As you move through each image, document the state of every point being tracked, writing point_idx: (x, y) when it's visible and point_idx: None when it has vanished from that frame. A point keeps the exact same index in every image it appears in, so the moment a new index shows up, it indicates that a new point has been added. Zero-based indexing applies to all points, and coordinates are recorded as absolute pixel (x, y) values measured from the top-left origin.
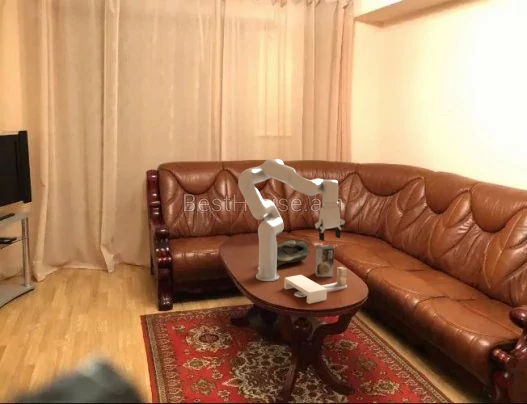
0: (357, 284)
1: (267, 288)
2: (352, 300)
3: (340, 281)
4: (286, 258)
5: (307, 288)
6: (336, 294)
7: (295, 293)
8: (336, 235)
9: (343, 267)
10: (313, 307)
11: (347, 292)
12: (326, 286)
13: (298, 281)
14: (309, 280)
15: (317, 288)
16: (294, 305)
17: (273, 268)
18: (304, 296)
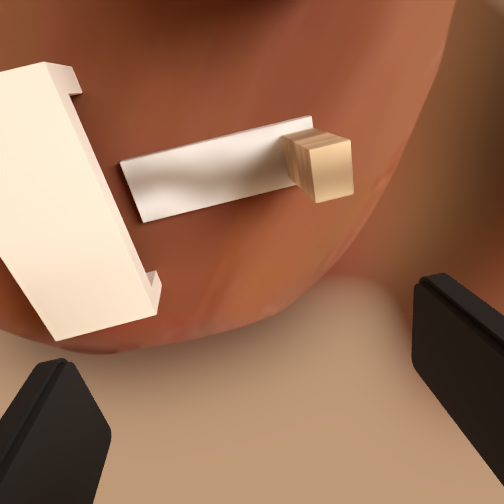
0: (388, 143)
1: None
2: (265, 303)
3: (292, 172)
4: None
5: (53, 297)
6: (228, 239)
7: None
8: (435, 328)
9: (349, 159)
10: (86, 338)
11: (287, 228)
12: (209, 166)
13: (8, 192)
14: (88, 190)
15: (108, 304)
16: (4, 314)
17: None
18: None
